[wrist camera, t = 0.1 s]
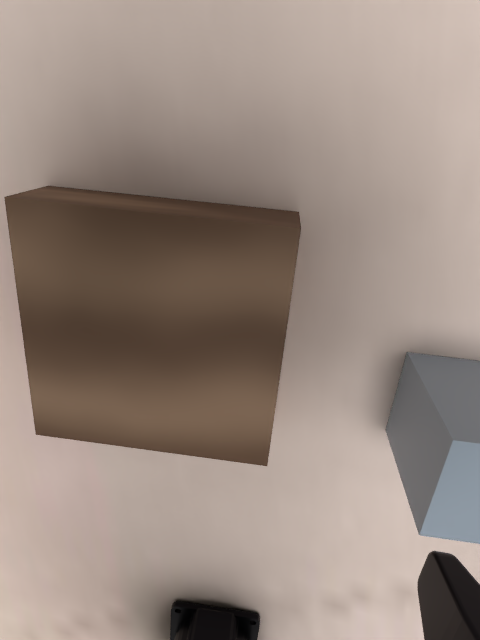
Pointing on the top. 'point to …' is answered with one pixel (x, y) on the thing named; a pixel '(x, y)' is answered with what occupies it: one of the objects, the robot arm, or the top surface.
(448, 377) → the slate block
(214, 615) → the robot arm
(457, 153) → the top surface
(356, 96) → the top surface
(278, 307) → the walnut block
